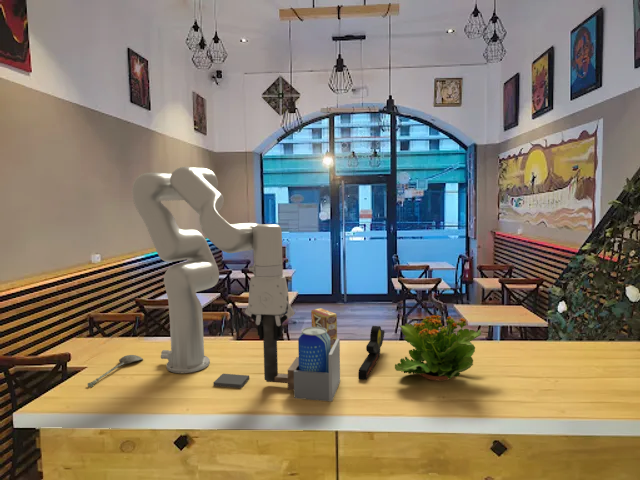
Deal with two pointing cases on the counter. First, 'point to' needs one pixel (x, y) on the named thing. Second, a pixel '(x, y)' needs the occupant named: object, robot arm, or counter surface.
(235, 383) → the gray rectangular plate
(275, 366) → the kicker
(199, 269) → the robot arm
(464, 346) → the potted flower
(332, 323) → the candy box
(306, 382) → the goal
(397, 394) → the counter surface
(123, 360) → the soupspoon
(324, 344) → the beer can
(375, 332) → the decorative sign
